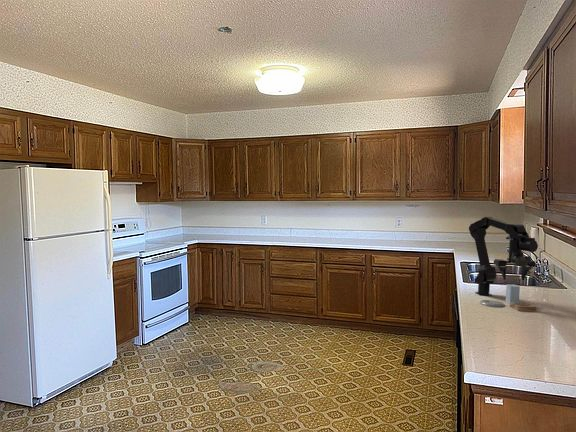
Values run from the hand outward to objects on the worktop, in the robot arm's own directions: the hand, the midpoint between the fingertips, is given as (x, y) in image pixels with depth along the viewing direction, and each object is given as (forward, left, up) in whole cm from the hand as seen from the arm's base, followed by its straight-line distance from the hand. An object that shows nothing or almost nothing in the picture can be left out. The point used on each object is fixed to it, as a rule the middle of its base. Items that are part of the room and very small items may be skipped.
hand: (513, 279), depth 225 cm
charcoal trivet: (+3, -12, -12) cm, 17 cm away
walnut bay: (+10, 0, -12) cm, 15 cm away
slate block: (0, 0, -12) cm, 12 cm away
